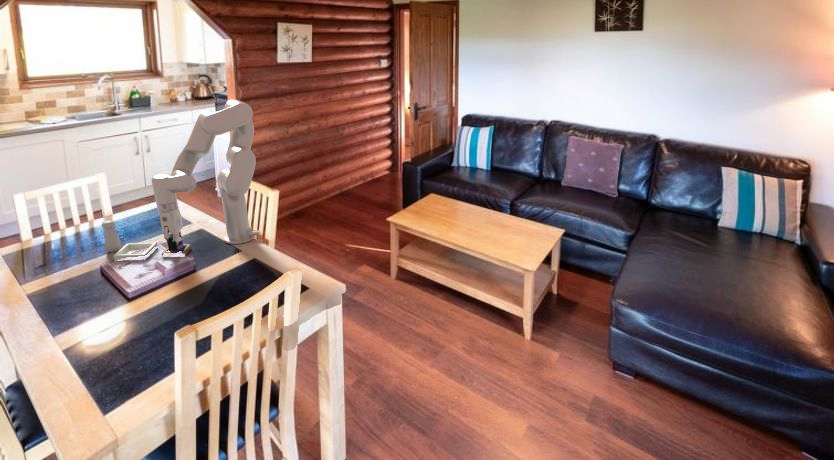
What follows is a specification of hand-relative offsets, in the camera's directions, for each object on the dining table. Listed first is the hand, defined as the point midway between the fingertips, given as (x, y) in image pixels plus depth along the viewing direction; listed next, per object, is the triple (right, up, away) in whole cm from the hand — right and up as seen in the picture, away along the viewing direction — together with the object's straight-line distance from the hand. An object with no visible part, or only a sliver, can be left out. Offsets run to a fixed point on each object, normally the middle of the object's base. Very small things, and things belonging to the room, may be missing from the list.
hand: (176, 246), depth 201 cm
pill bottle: (0, -3, +1) cm, 3 cm away
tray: (-16, -3, 0) cm, 16 cm away
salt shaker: (-27, -2, +4) cm, 28 cm away
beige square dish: (0, -3, +1) cm, 3 cm away
